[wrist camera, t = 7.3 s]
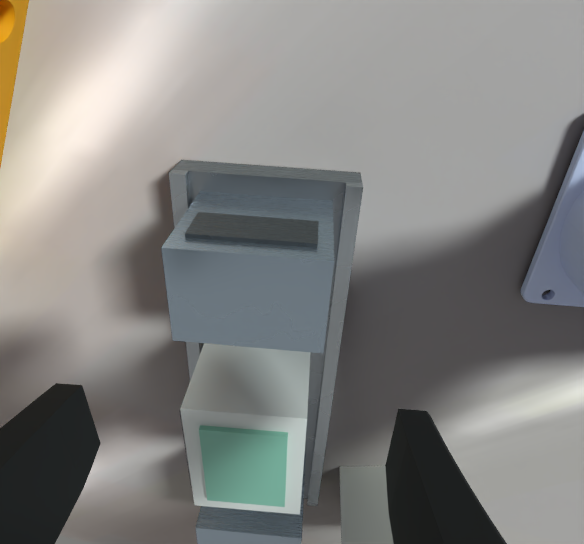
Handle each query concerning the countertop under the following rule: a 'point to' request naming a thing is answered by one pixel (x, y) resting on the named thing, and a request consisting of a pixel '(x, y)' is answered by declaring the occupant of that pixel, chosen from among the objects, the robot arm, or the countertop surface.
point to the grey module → (247, 427)
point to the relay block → (364, 505)
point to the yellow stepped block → (9, 56)
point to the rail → (263, 293)
